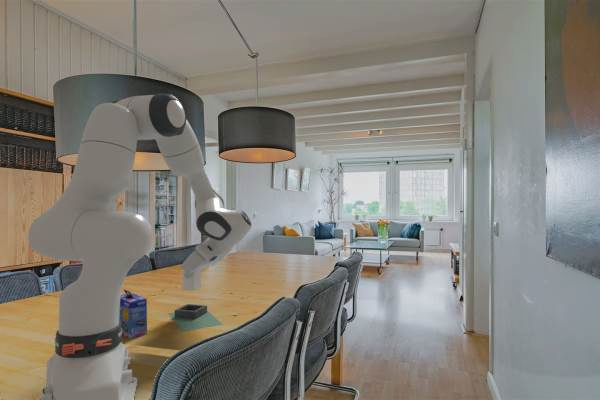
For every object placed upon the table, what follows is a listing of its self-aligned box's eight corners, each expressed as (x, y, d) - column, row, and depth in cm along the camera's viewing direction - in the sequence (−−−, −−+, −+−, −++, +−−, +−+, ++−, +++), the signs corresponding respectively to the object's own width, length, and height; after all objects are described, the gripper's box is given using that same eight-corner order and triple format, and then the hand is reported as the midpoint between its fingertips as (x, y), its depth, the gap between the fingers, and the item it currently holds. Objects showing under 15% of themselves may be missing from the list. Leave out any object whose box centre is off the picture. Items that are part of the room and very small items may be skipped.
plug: (200, 287, 125) (201, 262, 125) (194, 290, 120) (194, 264, 121) (189, 287, 126) (189, 262, 126) (182, 289, 121) (182, 264, 122)
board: (222, 329, 113) (223, 316, 113) (181, 336, 107) (182, 323, 107) (204, 311, 131) (204, 301, 131) (168, 317, 125) (168, 306, 125)
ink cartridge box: (114, 335, 107) (115, 288, 107) (132, 331, 111) (133, 285, 111) (129, 344, 100) (130, 293, 101) (147, 338, 105) (148, 290, 105)
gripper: (223, 239, 132) (199, 263, 134) (194, 244, 112) (167, 273, 114) (234, 251, 131) (210, 275, 133) (207, 259, 111) (179, 288, 113)
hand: (190, 274), depth 123 cm, fingers closed on plug, 4 cm apart
